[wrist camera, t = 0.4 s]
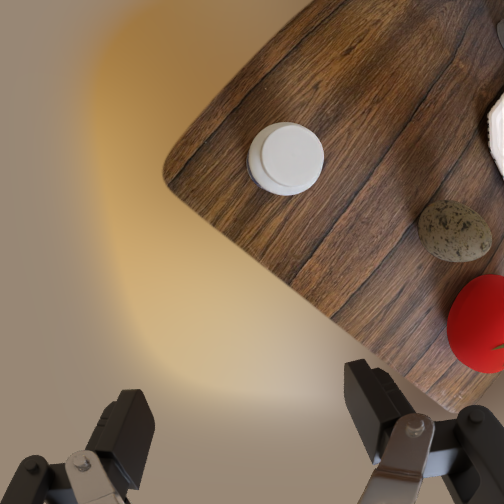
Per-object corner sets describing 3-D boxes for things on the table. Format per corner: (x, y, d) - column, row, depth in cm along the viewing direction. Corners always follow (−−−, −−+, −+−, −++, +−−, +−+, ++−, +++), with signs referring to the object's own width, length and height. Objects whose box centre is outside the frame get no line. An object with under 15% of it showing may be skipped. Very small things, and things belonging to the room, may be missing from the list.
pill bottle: (250, 195, 29) (257, 204, 19) (241, 139, 28) (243, 119, 18) (307, 187, 29) (340, 192, 19) (299, 132, 28) (328, 110, 18)
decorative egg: (449, 245, 31) (506, 268, 21) (408, 255, 31) (463, 284, 21) (446, 194, 30) (507, 203, 20) (403, 200, 30) (463, 212, 20)
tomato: (463, 250, 31) (523, 274, 21) (506, 288, 33) (555, 315, 23) (417, 331, 33) (465, 376, 23) (466, 357, 35) (509, 395, 25)
